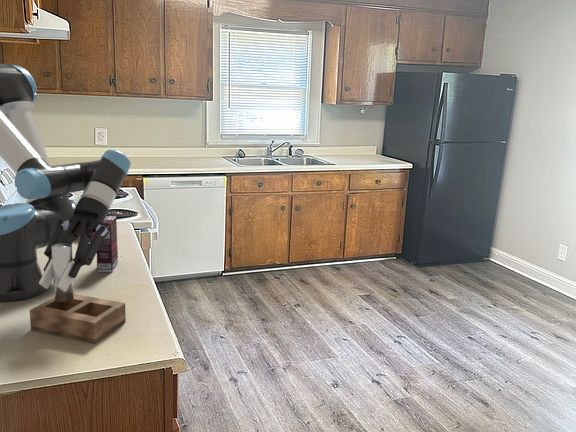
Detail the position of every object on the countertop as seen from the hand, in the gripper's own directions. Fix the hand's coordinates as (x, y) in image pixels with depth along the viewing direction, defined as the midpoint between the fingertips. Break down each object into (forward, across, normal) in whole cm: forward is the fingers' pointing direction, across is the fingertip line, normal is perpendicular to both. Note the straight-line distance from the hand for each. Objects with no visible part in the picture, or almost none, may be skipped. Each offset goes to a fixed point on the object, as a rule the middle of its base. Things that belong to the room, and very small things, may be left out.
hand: (52, 287), depth 120 cm
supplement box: (-21, +14, -36) cm, 44 cm away
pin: (0, 0, -6) cm, 6 cm away
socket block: (+5, -4, -10) cm, 12 cm away
